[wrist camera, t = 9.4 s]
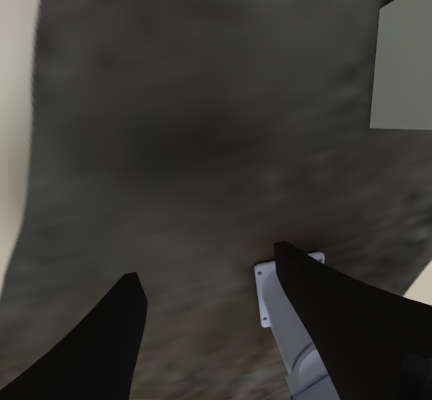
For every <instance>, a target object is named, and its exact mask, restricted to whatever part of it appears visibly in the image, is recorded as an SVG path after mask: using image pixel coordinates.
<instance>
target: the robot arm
mask: <svg viewBox="0 0 432 400" xmlns="http://www.w3.org/2000/svg"><path fill="white" fill-rule="evenodd" d="M274 252H275V261H271V262H266V263H261V264H257V265H256V266H255V267H254V271H255V279H256V287H257V295H258V303H259V311H260V319H261V324H262V326H263V327H270V326H271V329H272V332H273V334H274V337H275V340H276V342H277V345H278V348H279V350H280V353H281V356H282V358H283V361H284V363H285V366H286V369H287V371H288V374H289V375H288V376H287V377H286V381H287V383H288V386H289V389H290V392H291V394H290V395H289V396H287V398H286V399H285V400H432V306H431V305H428V304H424V303H421V302H418V301H414V300H411V299H407V298H405V297H402V296H398V295H395V294H392V293H390V292H387V291H384V290H381V289H379V288H376V287H373V286H371V285H368V284H366V283H363V282H361V281H359V280H356V279H354V278H352V277H349V276H347V275H345V274H343V273H341V272H339V271H337V270H335V269H333V268H331V267H329V266H327V265H325V264H324V257H325V256H324V254H323V253H322V252H315V253H310V254H306V253H304V252H303V251H301V250H299V249H298V248H296V247H295V246H293V245H291V244H290V243H288V242H286V241H282V242H277V243H274ZM319 259H320V260H319ZM318 260H319V261H318ZM259 271H261V272H260V273H258V272H259ZM147 305H148V301H147V298H146V296H145V293H144V290H143V288H142V285H141V283H140V280H139V277H138V275H137V272H133V273H128V274H124V275H123V276H122V277H121V278H120V279H119V280H118V282H117V283H116V284H115V285H114V286H113V287H112V288H111V289H110V290H109V292H108V293H107V294H106V295H105V296H104V297H103V298H102V299H101V300H100V302H99V303H98V304H97V305H96V306H95V307H94V308H93V309H92V310H91V311H90V312H89V313H88V314H87V315H86V316H85V317H84V318H83V319H82V320H81V321H80V322H79V323H78V324H77V325H76V327H75V328H74V329H72V330H71V331H70V332H69V333H68V334H67V335H66V336H65V337H64V338H63V339H62V340H61V341H60V342H59V343H57V344H56V345H55V346H54V347H53V348H52V349H51V350H50V351H48V352H47V353H46V354H45V355H44V356H43V357H41V358H40V359H39V360H38V361H37V362H35V363H34V364H33V365H32V366H30V367H29V368H28V369H27V370H26V371H24V372H23V373H22V374H21V375H19V376H18V377H17V378H16V379H14V380H13V381H12V382H11V383H9V384H8V385H7V386H5V387H4V388H3V389H1V390H0V400H129V395H130V388H131V383H132V378H133V373H134V369H135V365H136V360H137V356H138V352H139V348H140V344H141V340H142V336H143V331H144V327H145V322H146V315H147ZM264 317H265V318H264Z"/></svg>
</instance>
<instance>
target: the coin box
mask: <svg viewBox="0 0 432 400" xmlns="http://www.w3.org/2000/svg"><path fill="white" fill-rule="evenodd" d="M370 128H385V129H420V130H432V0H394V1H392V2H391V3H389V4H387V5H386V6H384V7H382V8H381V9H380V13H379V24H378V36H377V48H376V59H375V71H374V82H373V94H372V105H371V117H370Z"/></svg>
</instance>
